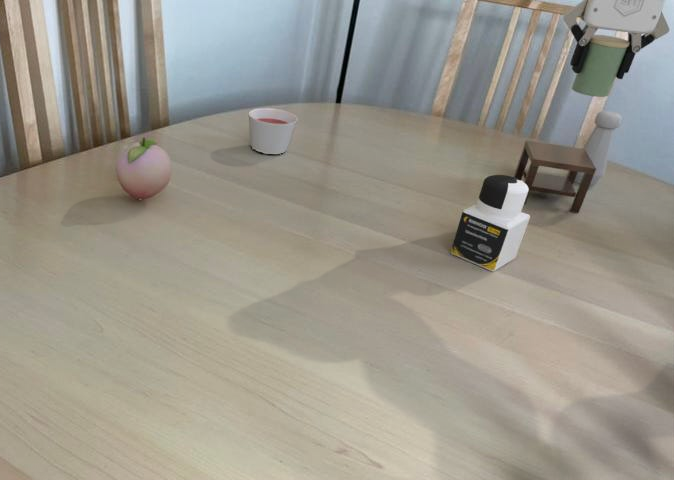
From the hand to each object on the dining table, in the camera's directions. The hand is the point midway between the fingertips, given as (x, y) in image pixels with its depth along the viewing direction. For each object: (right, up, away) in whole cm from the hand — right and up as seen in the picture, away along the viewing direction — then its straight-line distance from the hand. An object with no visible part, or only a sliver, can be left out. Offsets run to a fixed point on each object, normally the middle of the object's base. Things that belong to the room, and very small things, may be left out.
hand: (596, 72), depth 117 cm
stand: (-1, -17, +15) cm, 22 cm away
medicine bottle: (-21, -30, -7) cm, 37 cm away
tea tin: (0, -2, +2) cm, 3 cm away
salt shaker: (+10, -12, +23) cm, 28 cm away
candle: (-50, -6, +24) cm, 55 cm away
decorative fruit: (-71, -20, 0) cm, 74 cm away
